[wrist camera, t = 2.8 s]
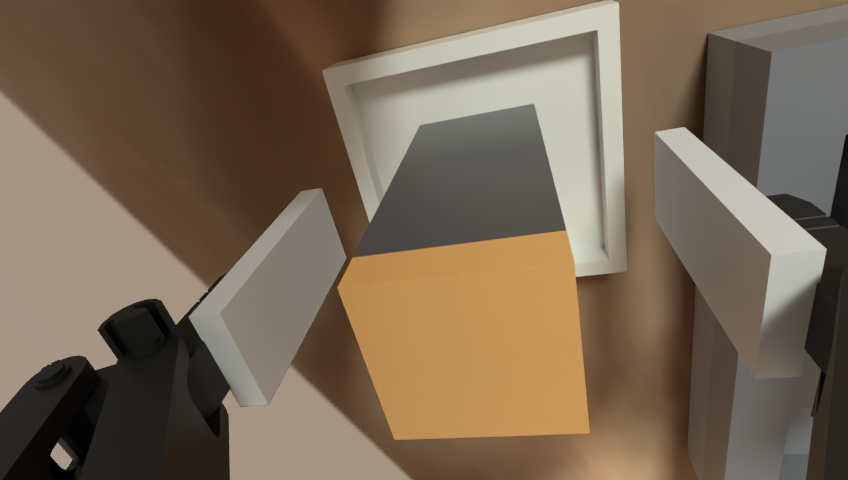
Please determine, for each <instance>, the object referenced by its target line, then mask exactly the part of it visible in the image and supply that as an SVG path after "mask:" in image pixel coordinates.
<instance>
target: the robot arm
mask: <svg viewBox="0 0 848 480" xmlns="http://www.w3.org/2000/svg"><path fill="white" fill-rule="evenodd" d="M655 220H656V221H657V223H658V225H659V226H660V228H661V229H662V231H663V233H664V234H665V236H666V238H667V239H668V241H669V242H670V244H671V246H672V247H673V249H674V250H675V252H676V254H677V255H678V257H679V258H680V260H681V262H682V263H683V265H684V266H685V268H686V270H687V271H688V273H689V275H690V276H691V278H692V279H693V281H694V283H695V284H696V286H697V287H698V289H699V291H700V292H701V294H702V295H703V297H704V299H705V300H706V302H707V303H708V305H709V307H710V308H711V310H712V312H713V313H714V315H715V316H716V318H717V320H718V321H719V323H720V324H721V326H722V328H723V329H724V331H725V332H726V334H727V336H728V337H729V339H730V341H731V342H732V344H733V345H734V347H735V349H736V350H737V352H738V353H739V355H740V357H741V358H742V360H743V361H744V363H745V365H746V366H747V368H748V369H749V371H750V373H751V374H752V376H753V378H754V379H768V378H787V377H802V371H803V366H804V361H805V356H806V352H807V353H808V354H809V355H810V357H811V358H812V359H813V360H814V362H815V363H816V364H817V365H818V367H819V368H820V369H821V372H820V376H819V381H818V385H817V390H816V394H815V399H814V403H813V408H812V412H811V416H812V417H813V425H812V433H811V441H810V449H809V457H808V466H807V474H806V480H848V230H847V229H846V228H844V227H843V226H839V223H838V222H836V221H835V220H834V219H832V218H831V217H830V216H826V213H824V212H823V211H822V210H820V209H819V208H818V207H816V206H815V205H814V204H812V203H811V202H809V201H806V200H803V199H801V198H798V197H795V196H792V195H789V194H778V195H771V196H764V195H763V194H762V193H761V192H760V191H759V190H757V189H756V188H755V187H754V186H753V185H752V184H750V183H749V182H748V181H747V180H746V179H745V178H743V177H742V176H741V175H740V174H739V173H738V172H736V171H735V170H734V169H733V168H732V167H731V166H729V165H728V164H727V163H726V162H725V161H724V160H722V159H721V158H720V157H719V156H718V155H717V154H715V153H714V152H713V151H712V150H711V149H710V148H708V147H707V146H706V145H705V144H704V143H703V142H701V141H700V140H699V139H698V138H697V137H695V136H694V135H693V134H692V133H691V132H690V131H688V130H687V129H686V128H685V127H682V128H676V129H670V130H664V131H658V132H655ZM345 260H346V255H345V252H344V249H343V246H342V244H341V241H340V238H339V235H338V232H337V230H336V227H335V224H334V221H333V218H332V215H331V213H330V210H329V207H328V204H327V201H326V198H325V196H324V193H323V190H322V188H317V189H312V190H306V191H301V192H300V193H299V194H298V195H297V196H296V197H295V198H294V199H293V201H292V202H291V203H290V204H289V205H288V206H287V207H286V208H285V210H284V211H283V212H282V213H281V214H280V215H279V216H278V217H277V218H276V220H275V221H274V222H273V223H272V224H271V225H270V226H269V227H268V229H267V230H266V231H265V232H264V233H263V234H262V235H261V236H260V237H259V239H258V240H257V241H256V242H255V243H254V244H253V245H252V246H251V248H250V249H249V250H248V251H247V252H246V253H245V254H244V255H243V257H242V258H241V259H240V260H239V261H238V262H237V263H236V264H235V265H234V267H233V268H232V269H231V270H230V271H228V272H227V273H226V274H224V275H223V276H221V277H220V278H219V279H218V280H217V281H216V282H215V283H214V284H213V285H212V286H211V287H210V288H209V289H208V292H206V293H205V294H204V295H203V296H202V297H201V298H200V302H197V303H196V304H195V305H194V306H193V307H192V308H191V309H190V311H189V312H188V313H187V314H186V315H185V316H184V317H183V318H182V319H181V320H180V322H179V323H178V324H177V325H175V323H174V321H173V320H172V318H171V316H170V315H169V313H168V311H167V309H166V308H165V306H164V305H163V303H162V301H160V300H157V299H147V300H143V301H140V302H136V303H134V304H132V305H129V306H127V307H125V308H123V309H121V310H120V311H118V312H116V313H115V314H113V315H112V316H110V317H109V318H108V319H107V320H106V321H104V322H103V323H102V325H101V326H100V327H99V329H98V331H99V333H100V334H101V336H102V337H103V339H104V340H105V341H106V343H107V344H108V346H109V347H110V349H111V350H112V351H113V353H114V354H115V356H116V357H117V359H118V361H117V364H115V365H111V366H108V367H105V368H102V369H98V370H94V368H93V367H92V365H91V364H90V363H89V361H88V360H87V359H86V357H83V356H73V357H68V358H65V359H63V360H58V361H55V362H53V363H51V365H47V366H46V367H44V368H42V369H41V371H40V372H39V373H37V374H36V375H34V376H33V377H32V378H31V379H30V380H29V381H28V382H27V383H25V385H23V387H22V388H21V389H20V390H19V391H18V393H17V394H16V395H15V396H14V397H13V398H12V400H11V401H10V402H9V403H8V404H7V405H6V407H5V408H4V409H3V410H2V411H1V412H0V480H230V470H229V424H228V423H229V421H228V413H227V410H226V408H225V407H224V405H223V403H222V401H223V399H224V398H225V396H226V394H227V393H228V391H229V390H231V392H232V394H233V395H234V397H235V399H236V401H237V402H238V404H239V406H240V407H249V406H267V405H269V404H270V402H271V400H272V398H273V396H274V394H275V392H276V390H277V388H278V386H279V385H280V383H281V381H282V379H283V377H284V375H285V373H286V371H287V370H288V368H289V366H290V364H291V362H292V360H293V358H294V356H295V354H296V353H297V351H298V349H299V347H300V345H301V343H302V341H303V339H304V337H305V336H306V334H307V332H308V330H309V328H310V326H311V324H312V322H313V320H314V319H315V317H316V315H317V313H318V311H319V309H320V307H321V305H322V303H323V302H324V300H325V298H326V296H327V294H328V292H329V290H330V288H331V286H332V285H333V283H334V281H335V279H336V277H337V275H338V273H339V271H340V269H341V268H342V266H343V264H344V262H345ZM57 442H58V443H59V444H60V445H61V447H62V448H63V449H64V450H65V451H66V452H67V454H68V455H69V456H70V457H71V458H72V459H73V460H72V462H71V463H70V465H69V467H68V468H67V469H66V470H64V469H62V468H61V467H60V466H59V465H58V464H57V463H56V462H55V461H54V460H53V459H52V457H51V456H50V455H51V452H52V449H53V448H54V447H55V445H56V443H57Z"/></svg>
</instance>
